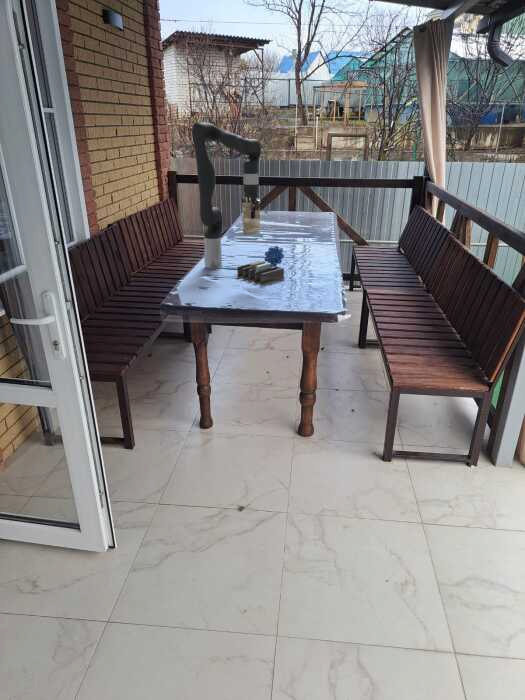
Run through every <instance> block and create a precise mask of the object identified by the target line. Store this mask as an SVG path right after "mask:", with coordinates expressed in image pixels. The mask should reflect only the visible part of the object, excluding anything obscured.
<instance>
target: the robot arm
mask: <svg viewBox="0 0 525 700" xmlns="http://www.w3.org/2000/svg"><path fill="white" fill-rule="evenodd" d="M191 135H192V144H193V148H194V149H193V150H194V153H195V161H196V171H197V172H196V173H197V181H198V189H199V190H198V191H199V215H200V221H201V223H202V224H203V225H204V226H206V227H207V228H206V230H205V231H204V233H203V234H204V235H203V236H204V237H203V238H204V251H203V254H204V257H203V258H204V267H205V268H206V269H207V270H219V269H221V268H222V267H223V260H222V259H223V256H222V253H223V252H222V232H223V215H222V211H221V209H220V208H219V207H217V206H213V201H212V200H213V196H214V195H213V194H214V190H215V187H216V180H217V179H216V170H215V169H216V168H215V166H214V164H213V162H212V160H211V159H210V157H209V155H208V152H207V147H206V143H208V142H215V143H216V142H217V143H220V144H221V145H223V147H226V148H228V149H230V150H233V151H236V152H237V153H240V154H241V155H244V156H248V158H247V159H246V160H245V161H244V162H243V177H242V179H243V180H242V182H243V193H244V196H243V197H241V198H240V199H241V202H242V203H245V202H250V207H251V219H255V211H256V210H258V209H259V207H260V208H261V203H262V202H263V201H262V199H259V196H258V194H259V192H260V191H259V189H260V188H259V187H260V185H259V179H260V178H259V162H260V157H261V154H262V153H261V151H262V146H261V143H260V141H259V140H258V139H256V138H251V139H249V138H247V139H246V138H244V137H243V136H241V135H238V134H235V133H233V132H230V131H226V130H223V129H222V128H219V127H218V126H216V125H214V124H212V123H210V122H206V121H205V122H204V121H202V122H200V121H199V122H195V123H193V125H192V128H191ZM252 204H254V205H252ZM253 206H254V208H253ZM256 207H257V208H256Z"/></svg>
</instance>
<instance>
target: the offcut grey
mask: <svg viewBox="0 0 525 700" xmlns="http://www.w3.org/2000/svg"><path fill="white" fill-rule="evenodd" d="M268 268H271V263H267V262H265V264H261V265H257V266H256V272H257V271H261V270H264V269H268Z"/></svg>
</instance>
